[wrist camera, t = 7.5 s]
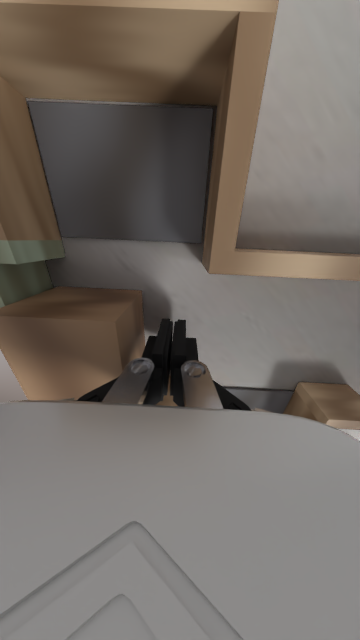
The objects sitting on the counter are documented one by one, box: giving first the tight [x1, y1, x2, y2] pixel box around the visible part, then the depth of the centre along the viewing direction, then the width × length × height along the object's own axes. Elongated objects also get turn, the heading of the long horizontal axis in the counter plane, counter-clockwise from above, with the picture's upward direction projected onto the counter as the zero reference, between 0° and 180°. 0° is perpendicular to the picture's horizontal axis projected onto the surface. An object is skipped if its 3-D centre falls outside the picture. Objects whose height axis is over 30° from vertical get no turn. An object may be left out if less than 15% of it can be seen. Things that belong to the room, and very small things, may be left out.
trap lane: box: [0, 0, 360, 430], centre depth 11 cm, size 26×26×4 cm
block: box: [0, 286, 145, 400], centre depth 11 cm, size 6×6×5 cm
